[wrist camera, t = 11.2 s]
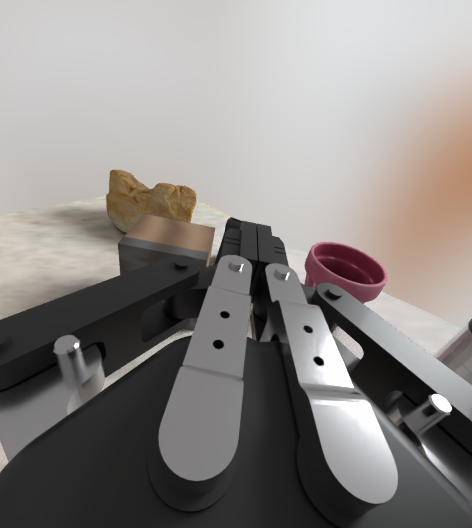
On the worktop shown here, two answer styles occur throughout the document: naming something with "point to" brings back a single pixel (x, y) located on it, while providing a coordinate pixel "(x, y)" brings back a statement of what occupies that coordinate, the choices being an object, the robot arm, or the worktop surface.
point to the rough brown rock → (146, 201)
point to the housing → (164, 244)
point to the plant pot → (345, 270)
